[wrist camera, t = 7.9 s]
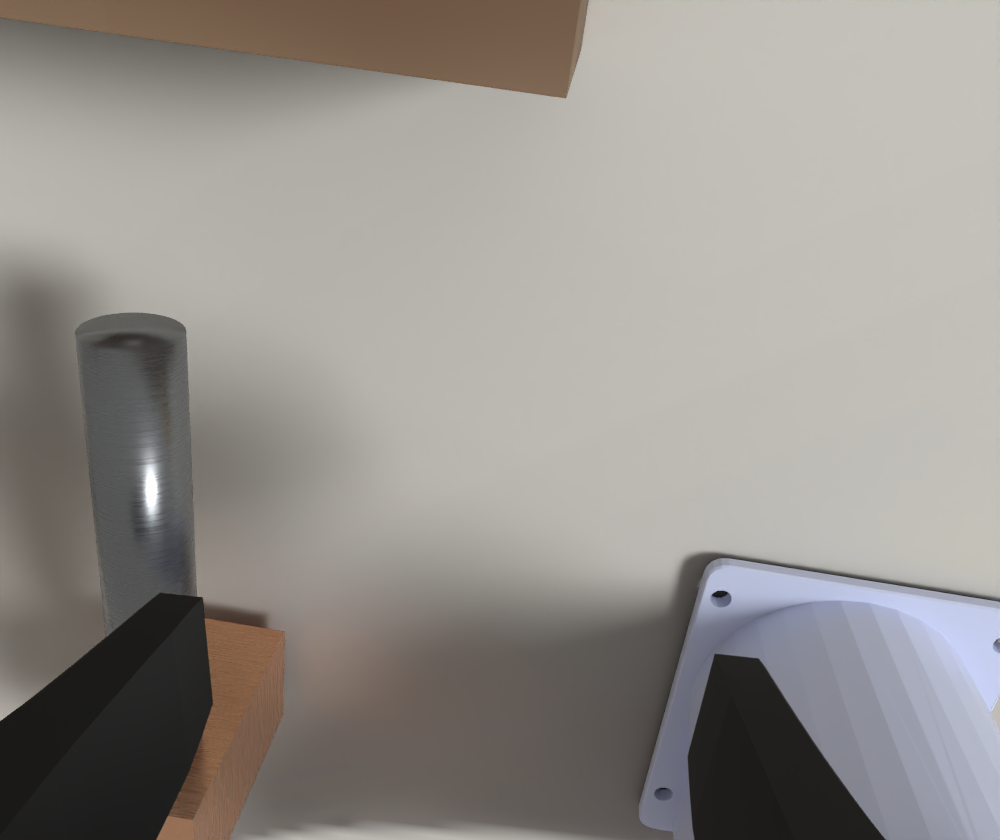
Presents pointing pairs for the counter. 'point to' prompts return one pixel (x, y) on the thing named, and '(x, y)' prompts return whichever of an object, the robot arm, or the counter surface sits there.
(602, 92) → the counter surface
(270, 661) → the hook pin
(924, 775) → the robot arm
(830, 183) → the counter surface
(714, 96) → the counter surface
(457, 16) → the slotted wooden block
